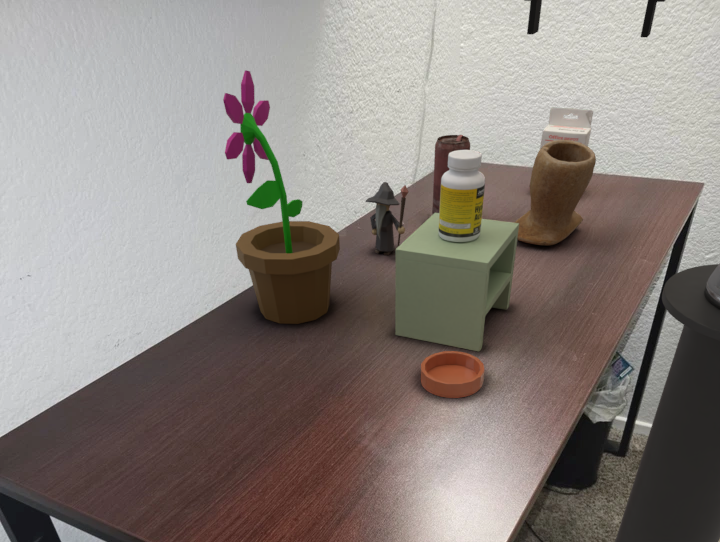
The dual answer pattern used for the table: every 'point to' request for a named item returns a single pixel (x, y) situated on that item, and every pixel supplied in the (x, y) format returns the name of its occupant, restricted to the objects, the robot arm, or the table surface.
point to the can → (445, 161)
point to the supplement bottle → (461, 197)
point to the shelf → (453, 282)
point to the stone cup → (556, 192)
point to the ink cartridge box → (568, 126)
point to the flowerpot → (279, 228)
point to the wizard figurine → (386, 218)
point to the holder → (452, 374)
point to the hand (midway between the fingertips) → (587, 34)
